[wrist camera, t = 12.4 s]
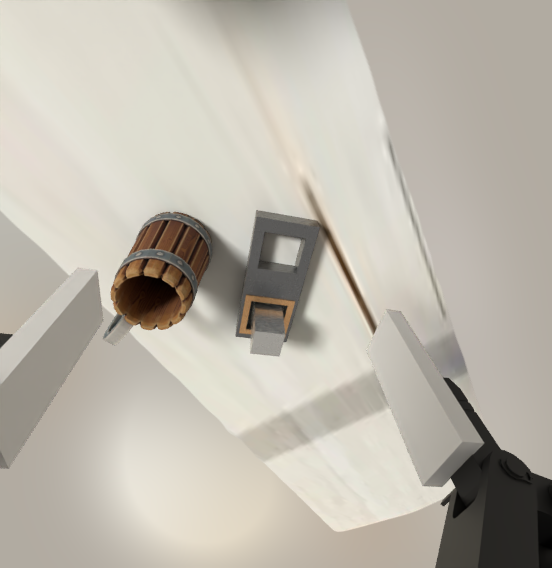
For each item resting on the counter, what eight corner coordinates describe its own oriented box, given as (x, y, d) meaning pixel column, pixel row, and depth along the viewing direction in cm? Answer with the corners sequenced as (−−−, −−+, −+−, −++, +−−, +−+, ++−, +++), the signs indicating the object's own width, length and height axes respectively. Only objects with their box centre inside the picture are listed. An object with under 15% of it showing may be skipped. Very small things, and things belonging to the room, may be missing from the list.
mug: (169, 194, 43) (133, 240, 30) (228, 243, 47) (217, 301, 34) (108, 265, 48) (56, 330, 35) (166, 303, 52) (138, 373, 40)
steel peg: (255, 295, 53) (254, 331, 45) (281, 298, 53) (285, 334, 46) (251, 316, 55) (250, 353, 47) (276, 319, 56) (279, 356, 48)
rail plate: (256, 210, 45) (256, 216, 42) (316, 220, 46) (319, 227, 44) (236, 326, 56) (235, 337, 54) (285, 332, 57) (286, 342, 55)
